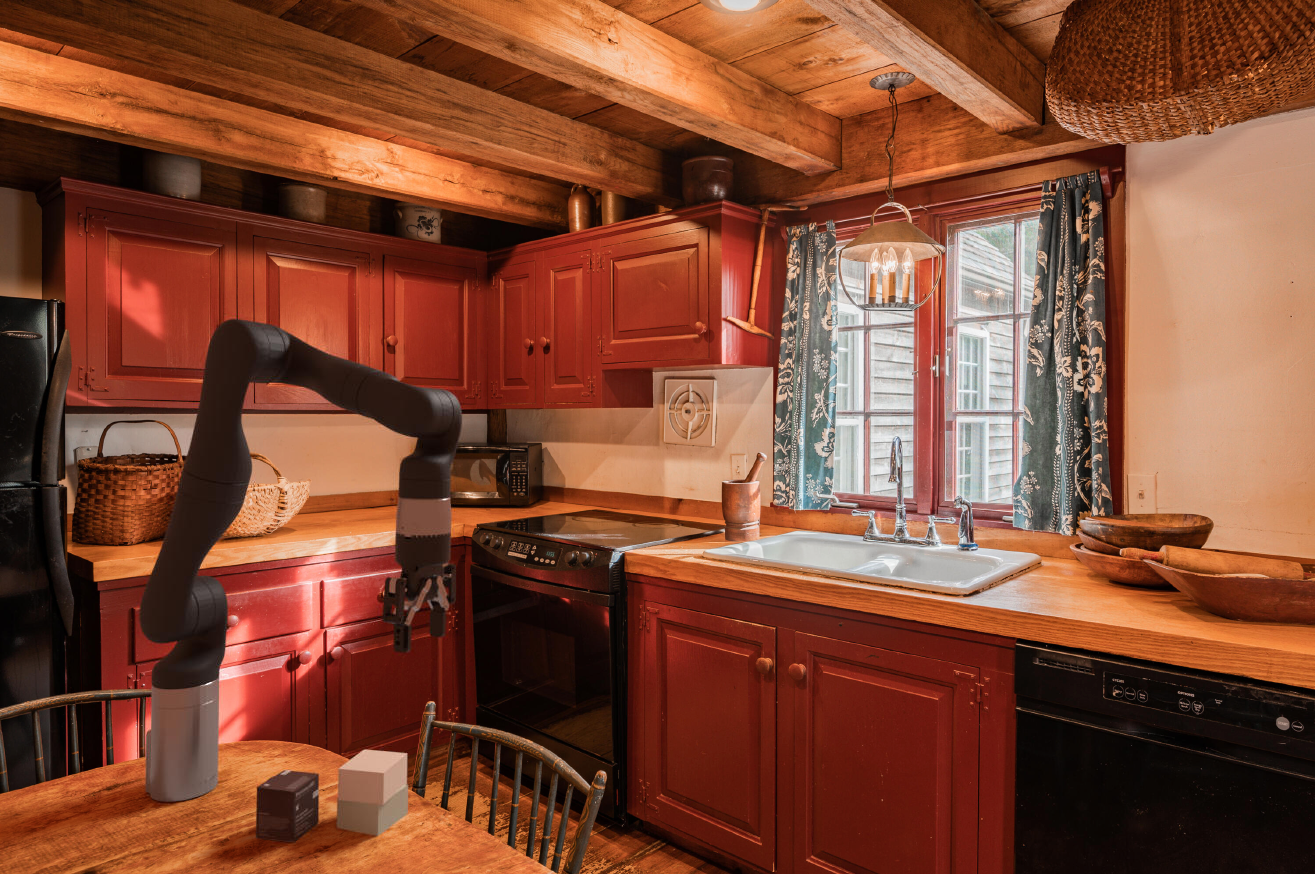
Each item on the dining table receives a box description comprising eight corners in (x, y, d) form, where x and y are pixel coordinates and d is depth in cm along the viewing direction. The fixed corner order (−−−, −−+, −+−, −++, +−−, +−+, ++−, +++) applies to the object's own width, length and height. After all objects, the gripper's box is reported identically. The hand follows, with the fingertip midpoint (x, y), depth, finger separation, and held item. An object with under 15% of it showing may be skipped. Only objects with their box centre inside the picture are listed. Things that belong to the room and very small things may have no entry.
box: (292, 844, 110) (293, 791, 110) (254, 838, 111) (255, 786, 111) (319, 822, 116) (320, 772, 116) (283, 818, 117) (283, 768, 117)
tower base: (336, 828, 115) (337, 797, 115) (368, 806, 121) (368, 777, 121) (377, 836, 113) (378, 805, 113) (407, 814, 119) (408, 784, 119)
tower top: (337, 799, 114) (338, 768, 114) (363, 778, 121) (364, 749, 121) (383, 804, 113) (383, 772, 113) (406, 782, 120) (407, 753, 120)
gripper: (429, 522, 120) (426, 629, 120) (368, 533, 107) (365, 653, 107) (473, 525, 118) (470, 634, 118) (417, 537, 104) (413, 660, 105)
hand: (420, 643), depth 112 cm, fingers open, 8 cm apart
